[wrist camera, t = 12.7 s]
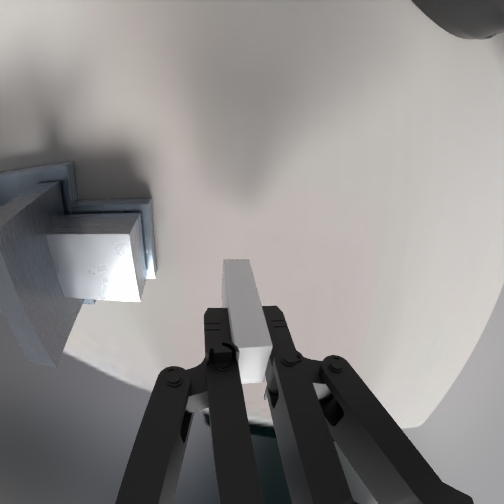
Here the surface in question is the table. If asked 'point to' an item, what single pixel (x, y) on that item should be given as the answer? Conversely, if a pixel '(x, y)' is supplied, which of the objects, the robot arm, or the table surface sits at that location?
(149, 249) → the vise base
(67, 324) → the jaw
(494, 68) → the table surface
